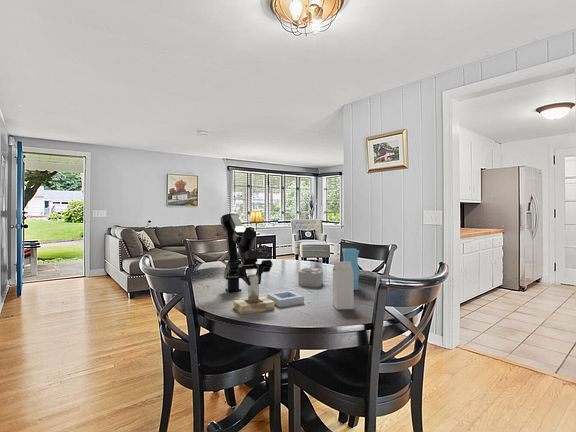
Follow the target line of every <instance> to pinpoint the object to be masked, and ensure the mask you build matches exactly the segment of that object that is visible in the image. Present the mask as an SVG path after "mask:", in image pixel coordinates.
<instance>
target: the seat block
mask: <svg viewBox="0 0 576 432" xmlns="http://www.w3.org/2000/svg"><path fill="white" fill-rule="evenodd" d="M266 298H268V299H270V300H272V301H274V304H275V306H276V307H278V308H283V307H289V306H295V305H302V304H305V296H304V295H302V294H300V293H297V292H295V291H294V290H293V291H292V290H286V291H278V292H272V293H270V292H269V293H267V294H266Z"/></svg>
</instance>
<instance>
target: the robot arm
mask: <svg viewBox="0 0 576 432" xmlns="http://www.w3.org/2000/svg"><path fill="white" fill-rule="evenodd" d="M220 224H221V227H222V230H223V231H224V232H225V236H226V245H227V256H228V260H227V263H226V264H225V268H224V273H223V278H224V279H225V281H227V288H225V291H227V292H228V293H235V292H242V289H241V288H240V279H242V280H243V282H245V284H246V285H247V287H248V286H249V285H250V283H249V279H248V273H247V271H248V270H249V271H250V270H256V271H255V272H256V273H255V274H256V275H259V285H261V284H262V275H263V274H264V273H268V272H270V271H271V269H272V267H273V261H272V260H271V259H262V260H261V262H260V263H258V258H261V257H262V256H263V251H262V248H256V249H253V248H252V247H253V246H254V243H255V241H256V237H257V233H256V231H255V230H253V229H251V227H244V226H243V225H244V224H243V223H242V222H241V219H240V217H239V212H228V213H225V214H223V215H221V217H220ZM237 245H238V246H237ZM237 249H238V250H237ZM238 253H239V257H240V259H239V258H238Z"/></svg>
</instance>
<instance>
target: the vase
mask: <svg viewBox="0 0 576 432" xmlns="http://www.w3.org/2000/svg"><path fill="white" fill-rule="evenodd" d="M341 249H342V250H341V251H342V255H343V259H342V260H343V261H342V262H351V265H352V269H353V273H354V291H358V290H360V287H359V276H360V272H361V271H360V267H359V264H358V263H359V262H358V258H359V255H360V249H358V248H349V247H348V248H341ZM357 249H358V250H357Z"/></svg>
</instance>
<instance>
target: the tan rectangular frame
mask: <svg viewBox="0 0 576 432" xmlns="http://www.w3.org/2000/svg"><path fill="white" fill-rule="evenodd" d="M232 303H233V306H232V307H233V309H234V310H235V311H237V312H238V313H239V314H240V315H242V316H243V315H244V316H245V315H251V314H254V313H261V312H266V311H271V310H275V306H276V305H275V304H274V301H272V300H270V299H268V298H267V296H265V295H264V296H259V300H257V301H249V300H248V298H243V299H237V300H236V299H235V300H233V301H232Z"/></svg>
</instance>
